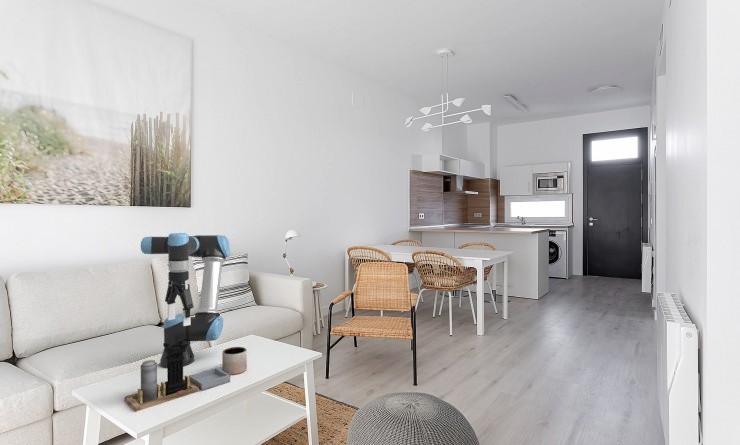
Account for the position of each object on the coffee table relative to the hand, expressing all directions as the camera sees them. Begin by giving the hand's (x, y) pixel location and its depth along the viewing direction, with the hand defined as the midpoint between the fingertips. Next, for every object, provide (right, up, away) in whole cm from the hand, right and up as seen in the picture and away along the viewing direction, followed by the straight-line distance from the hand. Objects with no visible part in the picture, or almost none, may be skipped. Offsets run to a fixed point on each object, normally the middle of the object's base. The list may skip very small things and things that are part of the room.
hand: (179, 322), depth 166 cm
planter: (+15, -28, +23) cm, 39 cm away
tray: (+9, -28, +10) cm, 31 cm away
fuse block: (-5, -29, -4) cm, 29 cm away
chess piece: (-1, -29, 0) cm, 29 cm away
